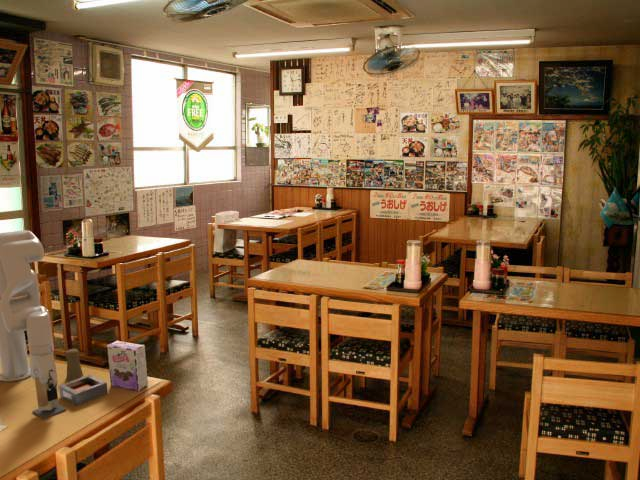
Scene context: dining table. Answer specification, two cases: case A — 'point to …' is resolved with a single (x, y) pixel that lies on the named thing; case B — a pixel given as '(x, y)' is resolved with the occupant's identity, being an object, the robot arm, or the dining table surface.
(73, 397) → the box
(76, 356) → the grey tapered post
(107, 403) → the dining table surface
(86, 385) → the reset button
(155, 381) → the dining table surface
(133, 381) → the candy box
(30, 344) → the robot arm
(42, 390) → the skincare box
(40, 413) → the coaster
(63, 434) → the dining table surface
